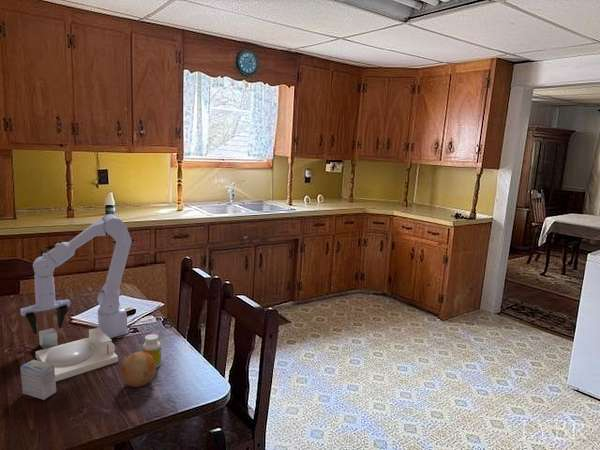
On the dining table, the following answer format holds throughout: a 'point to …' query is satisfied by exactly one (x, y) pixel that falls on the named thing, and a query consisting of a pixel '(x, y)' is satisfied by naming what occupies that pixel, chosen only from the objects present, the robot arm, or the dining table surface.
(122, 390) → the dining table surface
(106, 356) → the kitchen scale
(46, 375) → the medicine box
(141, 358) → the onion
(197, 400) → the dining table surface
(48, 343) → the steel weight
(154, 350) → the supplement bottle
